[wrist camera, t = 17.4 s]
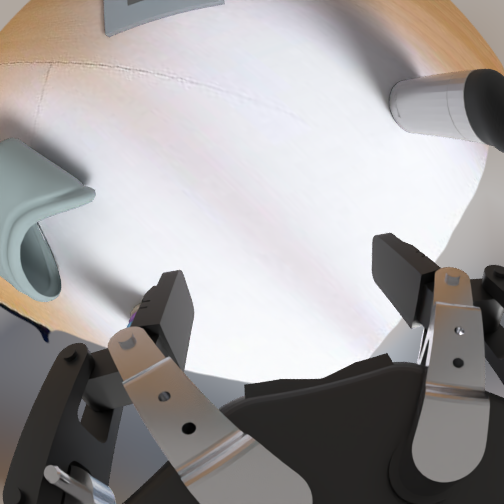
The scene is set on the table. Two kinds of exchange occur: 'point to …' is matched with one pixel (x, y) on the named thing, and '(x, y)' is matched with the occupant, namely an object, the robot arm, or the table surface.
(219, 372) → the table surface
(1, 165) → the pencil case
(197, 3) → the post plate
